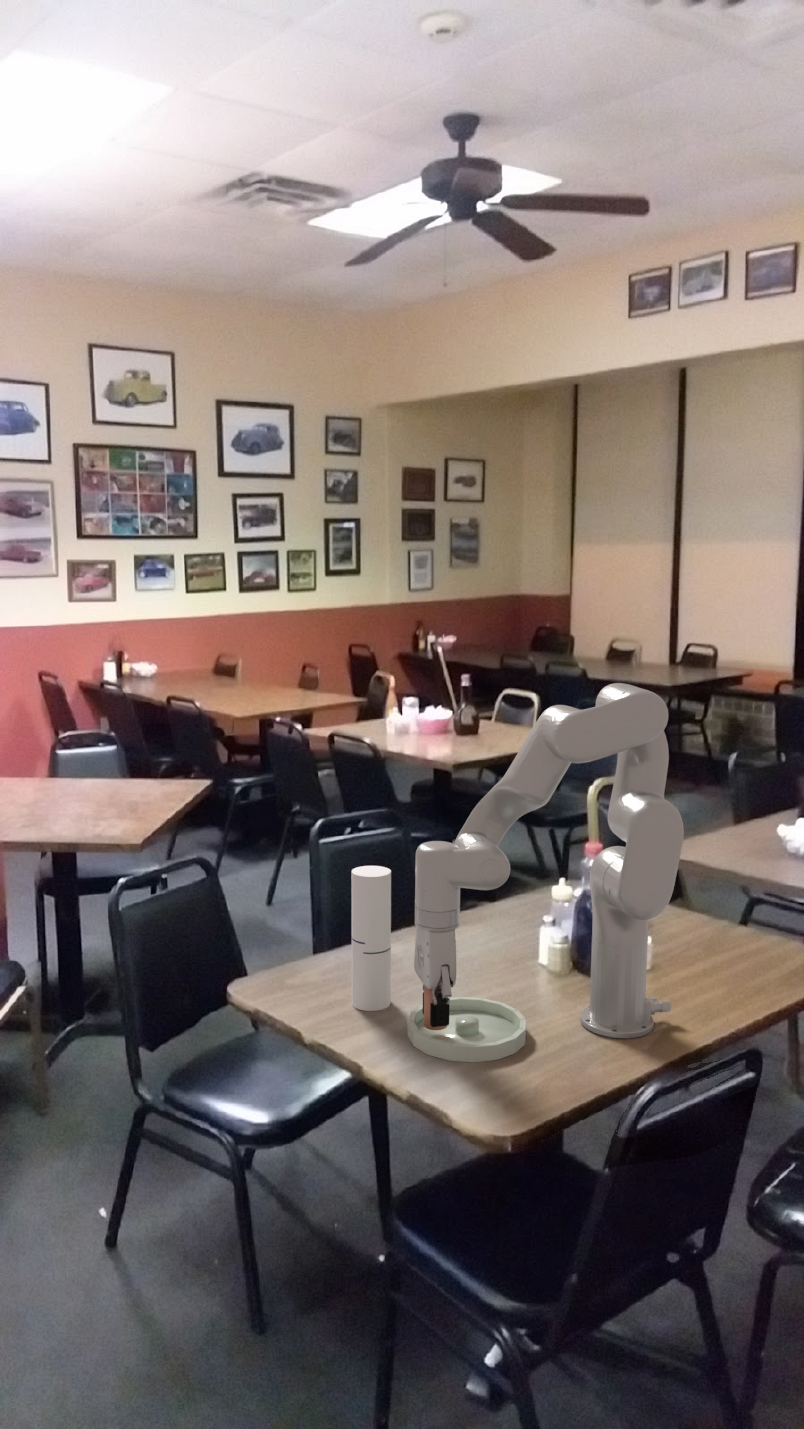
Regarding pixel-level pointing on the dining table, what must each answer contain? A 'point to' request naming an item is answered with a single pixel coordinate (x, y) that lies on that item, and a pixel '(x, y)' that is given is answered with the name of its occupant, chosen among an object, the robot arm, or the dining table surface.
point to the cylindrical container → (371, 937)
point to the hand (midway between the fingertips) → (435, 1018)
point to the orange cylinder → (427, 1008)
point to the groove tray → (471, 1031)
